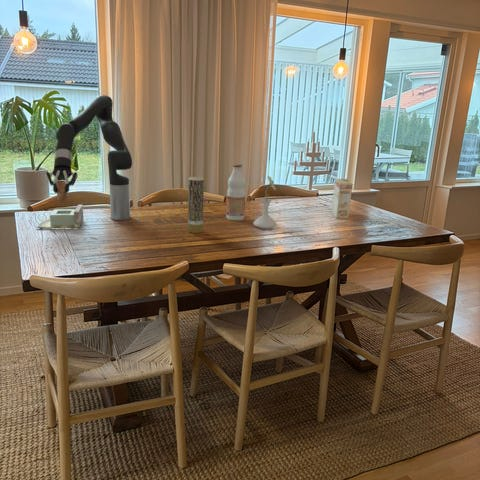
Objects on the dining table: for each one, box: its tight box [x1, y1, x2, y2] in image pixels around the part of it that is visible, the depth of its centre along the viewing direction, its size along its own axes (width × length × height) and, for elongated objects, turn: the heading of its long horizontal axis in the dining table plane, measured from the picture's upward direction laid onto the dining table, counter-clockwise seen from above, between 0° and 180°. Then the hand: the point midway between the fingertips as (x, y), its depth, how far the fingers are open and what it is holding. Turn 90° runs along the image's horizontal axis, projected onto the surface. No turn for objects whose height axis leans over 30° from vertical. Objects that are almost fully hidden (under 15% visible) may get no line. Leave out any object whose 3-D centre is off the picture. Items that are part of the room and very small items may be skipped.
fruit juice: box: [225, 163, 247, 221], centre depth 234 cm, size 9×9×28 cm
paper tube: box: [187, 176, 205, 234], centre depth 208 cm, size 7×7×25 cm
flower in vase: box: [253, 175, 277, 229], centre depth 221 cm, size 13×11×25 cm
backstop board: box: [36, 204, 84, 230], centre depth 211 cm, size 18×14×8 cm
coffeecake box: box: [331, 178, 354, 220], centre depth 251 cm, size 15×7×20 cm, turn 179°
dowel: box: [56, 180, 68, 202], centre depth 208 cm, size 4×4×8 cm
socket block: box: [49, 208, 76, 226], centre depth 211 cm, size 10×10×5 cm
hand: (60, 192), depth 206 cm, fingers closed on dowel, 4 cm apart
